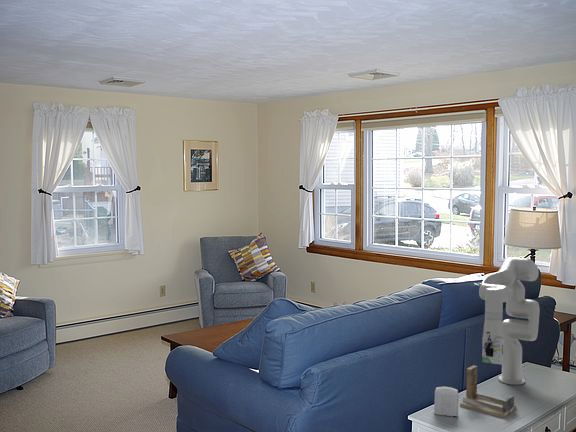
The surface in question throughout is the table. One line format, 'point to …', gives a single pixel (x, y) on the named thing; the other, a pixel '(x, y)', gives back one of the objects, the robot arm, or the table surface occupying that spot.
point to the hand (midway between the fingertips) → (492, 354)
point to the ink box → (494, 351)
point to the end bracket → (471, 382)
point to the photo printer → (446, 401)
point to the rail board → (490, 404)
